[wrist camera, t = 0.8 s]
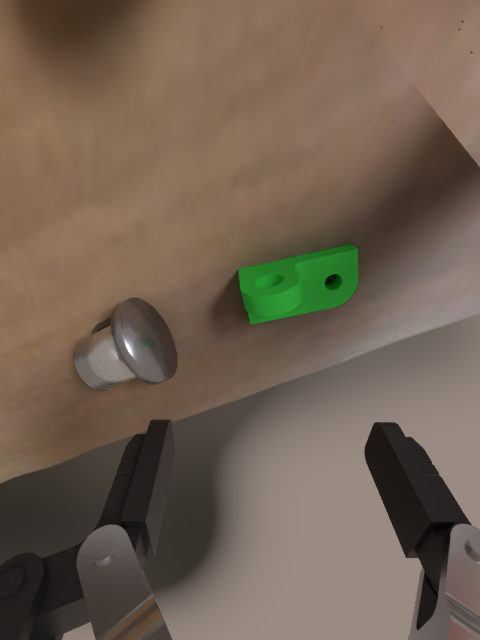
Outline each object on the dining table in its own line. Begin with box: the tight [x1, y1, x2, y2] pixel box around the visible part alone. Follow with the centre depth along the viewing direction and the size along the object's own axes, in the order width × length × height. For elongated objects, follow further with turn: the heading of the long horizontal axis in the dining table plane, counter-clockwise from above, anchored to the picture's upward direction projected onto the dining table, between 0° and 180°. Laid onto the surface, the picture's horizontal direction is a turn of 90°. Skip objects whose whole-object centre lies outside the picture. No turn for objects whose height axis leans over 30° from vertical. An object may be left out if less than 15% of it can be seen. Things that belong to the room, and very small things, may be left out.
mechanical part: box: [238, 244, 359, 325], centre depth 30 cm, size 12×6×8 cm, turn 102°
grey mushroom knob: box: [74, 298, 177, 391], centre depth 31 cm, size 7×9×9 cm
